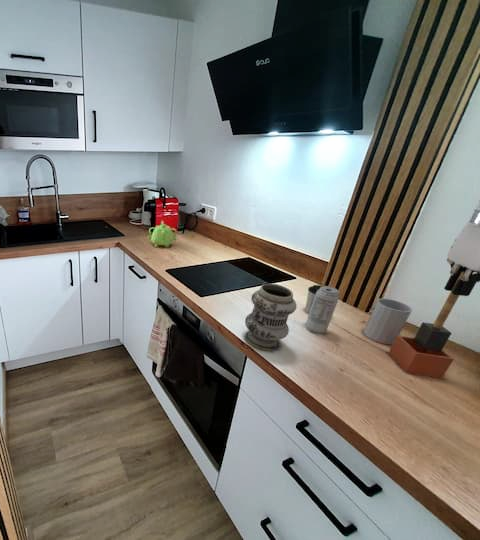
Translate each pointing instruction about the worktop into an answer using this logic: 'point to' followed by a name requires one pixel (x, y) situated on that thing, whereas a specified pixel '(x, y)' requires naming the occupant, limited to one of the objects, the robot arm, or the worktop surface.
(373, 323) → the grey cylindrical container
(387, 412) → the worktop surface
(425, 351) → the holder
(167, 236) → the teapot
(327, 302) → the energy drink can
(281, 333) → the apothecary jar
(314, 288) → the coffee cup
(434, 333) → the brush
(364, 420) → the worktop surface
